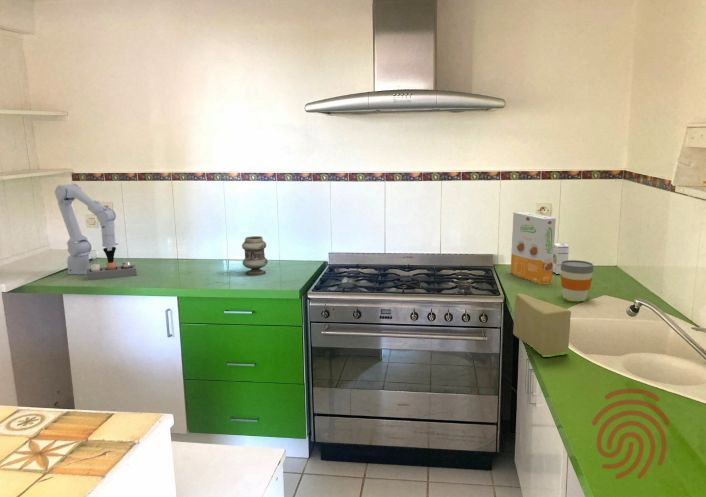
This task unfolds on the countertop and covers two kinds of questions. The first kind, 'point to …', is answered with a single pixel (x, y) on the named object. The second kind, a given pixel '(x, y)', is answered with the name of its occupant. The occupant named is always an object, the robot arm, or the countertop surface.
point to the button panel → (111, 273)
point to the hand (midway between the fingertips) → (110, 262)
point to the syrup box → (559, 256)
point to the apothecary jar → (254, 255)
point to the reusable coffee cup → (576, 279)
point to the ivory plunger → (95, 267)
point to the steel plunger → (126, 264)
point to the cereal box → (533, 246)
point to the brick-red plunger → (111, 266)
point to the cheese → (541, 324)
